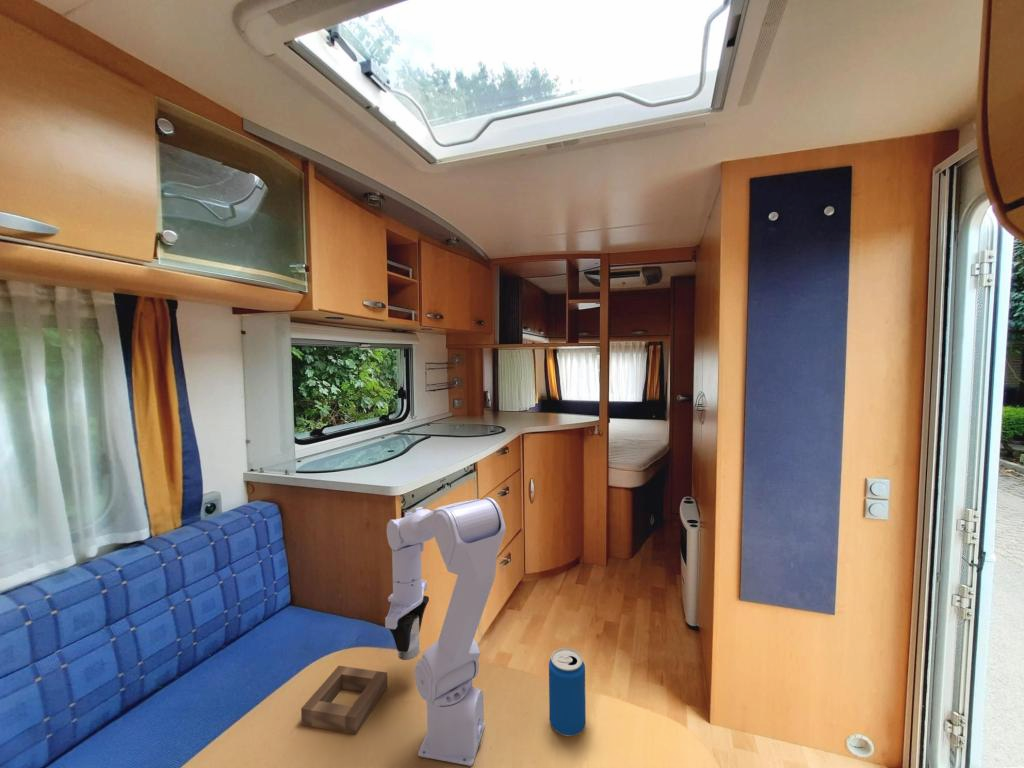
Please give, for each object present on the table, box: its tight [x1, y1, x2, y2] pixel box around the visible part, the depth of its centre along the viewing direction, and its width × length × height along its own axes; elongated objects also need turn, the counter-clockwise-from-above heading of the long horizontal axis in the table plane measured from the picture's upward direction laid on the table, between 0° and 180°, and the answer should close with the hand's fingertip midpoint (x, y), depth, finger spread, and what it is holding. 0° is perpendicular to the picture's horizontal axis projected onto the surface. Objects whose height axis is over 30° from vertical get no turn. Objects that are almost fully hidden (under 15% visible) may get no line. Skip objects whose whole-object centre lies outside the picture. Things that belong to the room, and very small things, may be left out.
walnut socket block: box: [300, 665, 388, 735], centre depth 77 cm, size 11×11×3 cm
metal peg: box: [396, 612, 421, 661], centre depth 82 cm, size 4×4×7 cm
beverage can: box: [548, 647, 587, 737], centre depth 72 cm, size 6×6×12 cm
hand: (408, 642), depth 82 cm, fingers closed on metal peg, 4 cm apart
